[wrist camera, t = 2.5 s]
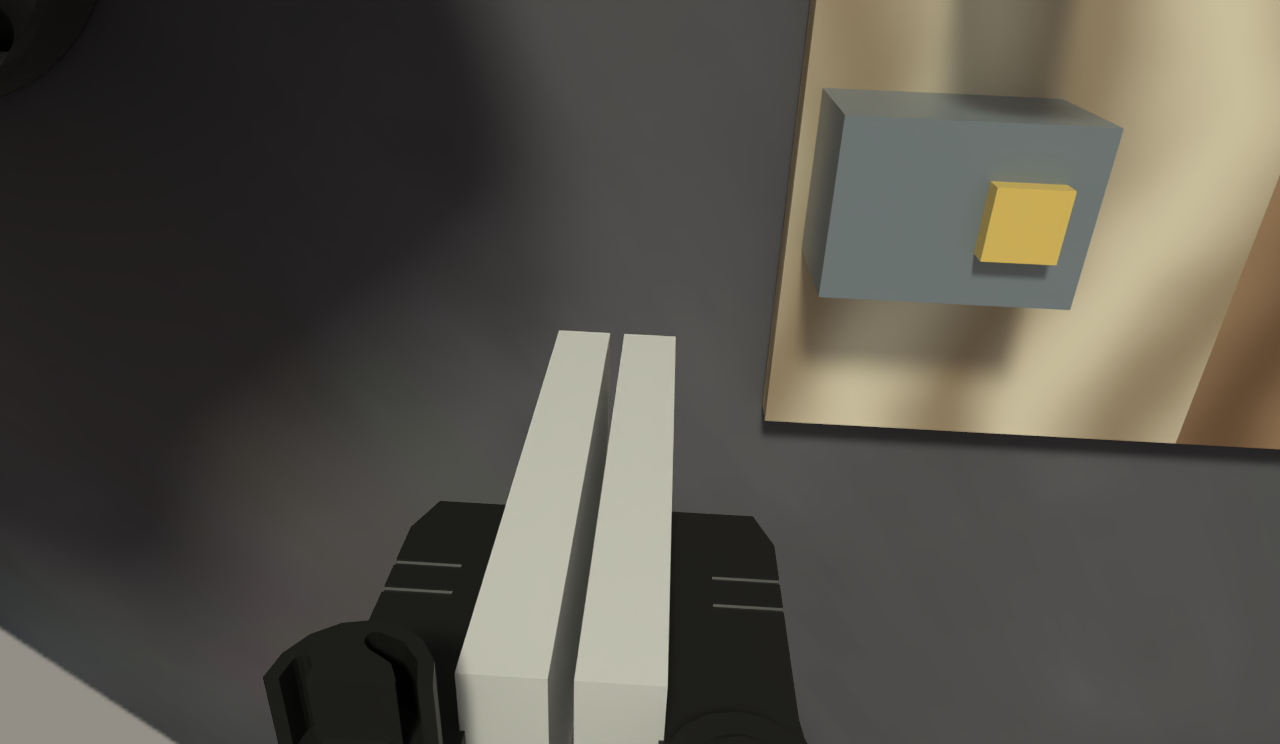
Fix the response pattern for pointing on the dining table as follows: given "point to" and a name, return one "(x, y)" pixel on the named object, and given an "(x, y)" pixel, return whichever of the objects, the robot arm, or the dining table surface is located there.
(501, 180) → the dining table surface
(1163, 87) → the board
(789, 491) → the dining table surface
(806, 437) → the dining table surface
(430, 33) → the dining table surface
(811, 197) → the block
